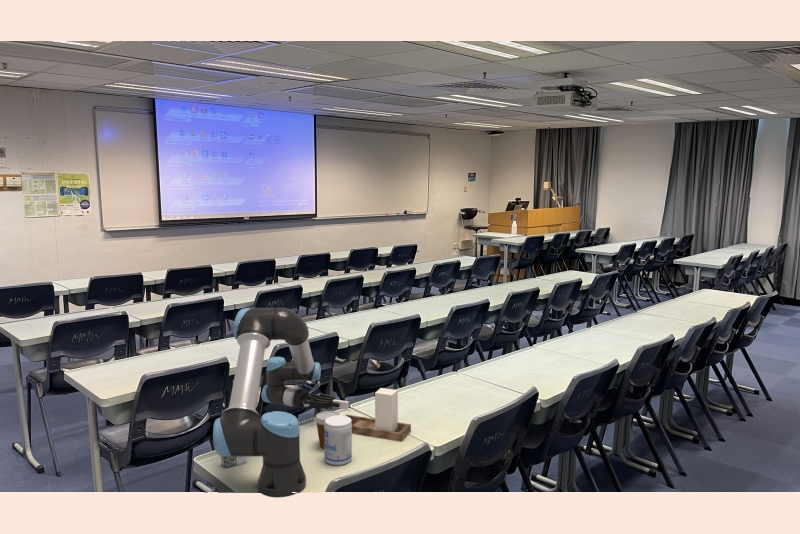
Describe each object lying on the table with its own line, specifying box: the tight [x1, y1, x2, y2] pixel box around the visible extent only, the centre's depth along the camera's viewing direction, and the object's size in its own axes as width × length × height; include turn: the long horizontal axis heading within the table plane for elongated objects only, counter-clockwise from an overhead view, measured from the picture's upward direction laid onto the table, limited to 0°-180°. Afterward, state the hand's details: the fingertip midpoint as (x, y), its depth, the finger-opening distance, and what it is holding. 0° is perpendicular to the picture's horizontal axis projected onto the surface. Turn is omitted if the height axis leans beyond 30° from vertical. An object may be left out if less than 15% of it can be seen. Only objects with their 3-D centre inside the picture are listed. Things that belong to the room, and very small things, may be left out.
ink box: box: [220, 456, 248, 469], centre depth 200 cm, size 4×8×15 cm, turn 123°
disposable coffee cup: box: [314, 410, 341, 450], centre depth 214 cm, size 10×10×12 cm
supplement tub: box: [323, 414, 353, 466], centre depth 203 cm, size 10×10×15 cm
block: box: [374, 387, 399, 432], centre depth 225 cm, size 7×6×15 cm
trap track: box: [344, 414, 412, 442], centre depth 228 cm, size 28×10×3 cm, turn 69°
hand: (348, 405), depth 231 cm, fingers closed
